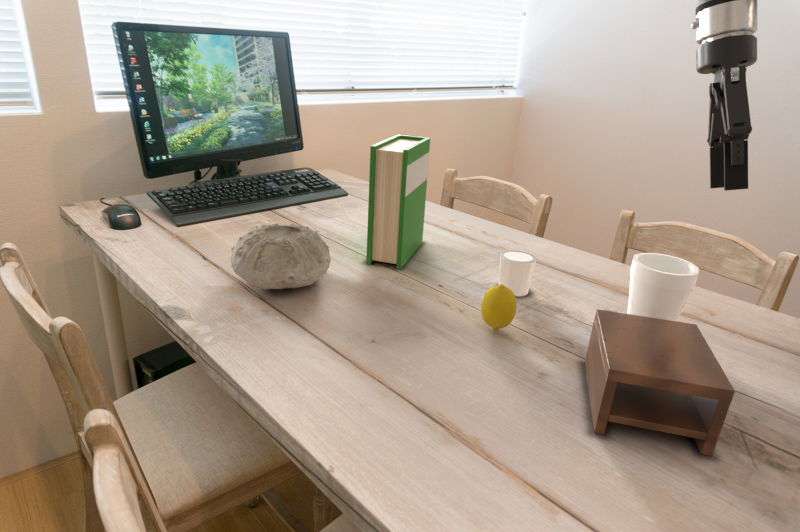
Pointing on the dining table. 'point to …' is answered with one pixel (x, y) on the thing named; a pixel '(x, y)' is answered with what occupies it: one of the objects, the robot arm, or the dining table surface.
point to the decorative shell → (280, 256)
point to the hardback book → (397, 198)
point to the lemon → (498, 306)
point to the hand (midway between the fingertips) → (727, 188)
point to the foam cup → (660, 285)
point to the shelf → (656, 378)
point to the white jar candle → (516, 271)
